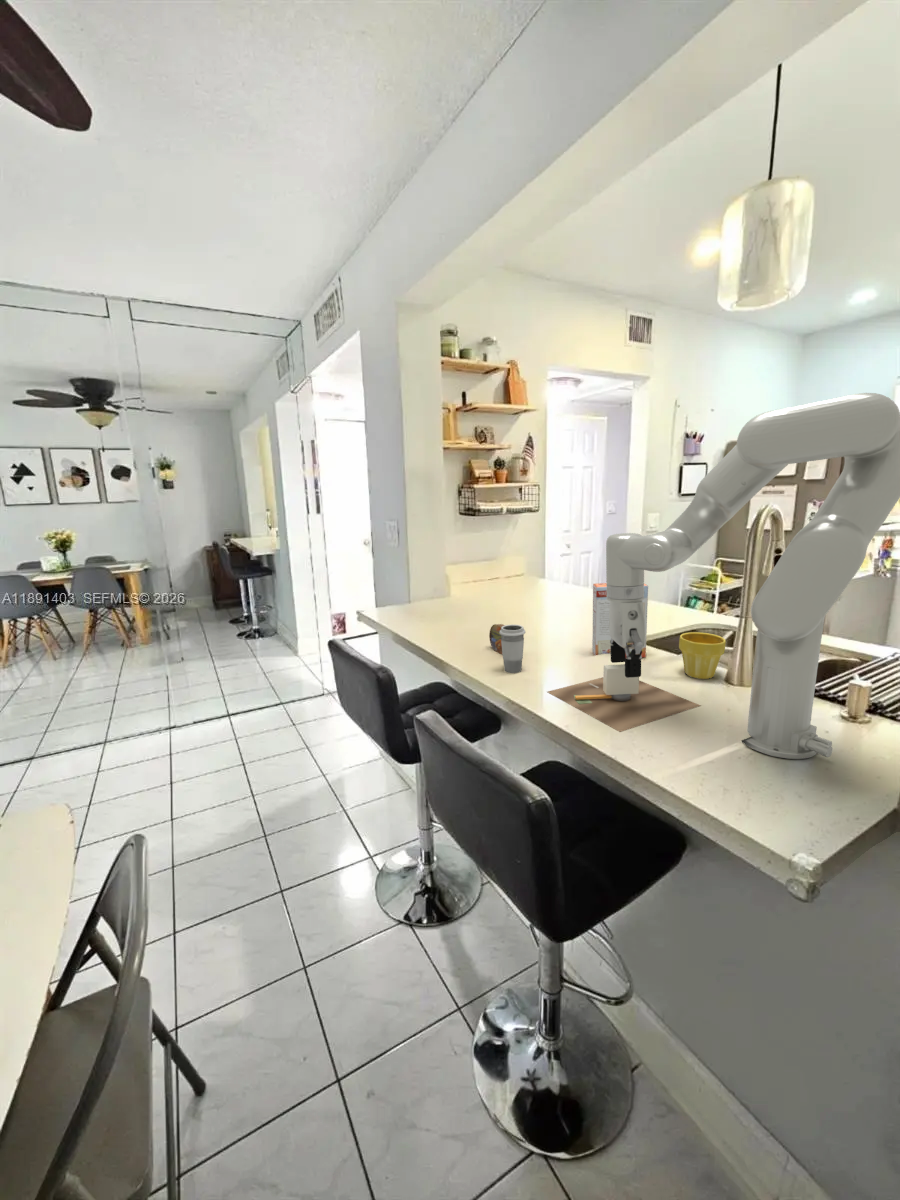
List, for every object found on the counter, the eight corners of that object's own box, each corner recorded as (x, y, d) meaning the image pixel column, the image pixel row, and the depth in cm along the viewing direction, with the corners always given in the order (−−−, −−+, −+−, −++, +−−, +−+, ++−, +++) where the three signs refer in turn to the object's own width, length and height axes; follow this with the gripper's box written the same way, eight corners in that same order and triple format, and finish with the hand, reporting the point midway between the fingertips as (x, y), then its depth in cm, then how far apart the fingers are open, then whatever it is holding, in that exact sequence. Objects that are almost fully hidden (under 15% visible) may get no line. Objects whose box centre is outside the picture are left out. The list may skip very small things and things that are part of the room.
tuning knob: (632, 692, 114) (633, 662, 112) (639, 700, 109) (641, 669, 108) (573, 694, 114) (573, 664, 112) (578, 703, 109) (578, 671, 108)
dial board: (700, 712, 107) (701, 705, 106) (619, 739, 97) (619, 731, 96) (620, 678, 127) (620, 672, 126) (546, 697, 117) (546, 691, 117)
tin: (488, 647, 156) (488, 621, 154) (497, 646, 157) (497, 620, 155) (514, 661, 142) (514, 633, 140) (524, 659, 144) (523, 631, 142)
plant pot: (724, 671, 129) (728, 634, 126) (720, 685, 120) (723, 646, 118) (681, 665, 134) (683, 629, 132) (673, 677, 126) (676, 640, 124)
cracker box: (640, 651, 146) (643, 581, 142) (646, 658, 140) (649, 585, 136) (591, 651, 148) (592, 582, 143) (594, 658, 142) (596, 586, 137)
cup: (510, 676, 131) (510, 632, 128) (494, 669, 136) (493, 627, 134) (531, 670, 135) (530, 627, 132) (514, 663, 140) (514, 622, 138)
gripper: (659, 598, 98) (658, 682, 101) (629, 584, 114) (629, 656, 118) (620, 601, 98) (620, 684, 101) (596, 586, 115) (596, 658, 118)
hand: (625, 669), depth 109 cm, fingers open, 9 cm apart
